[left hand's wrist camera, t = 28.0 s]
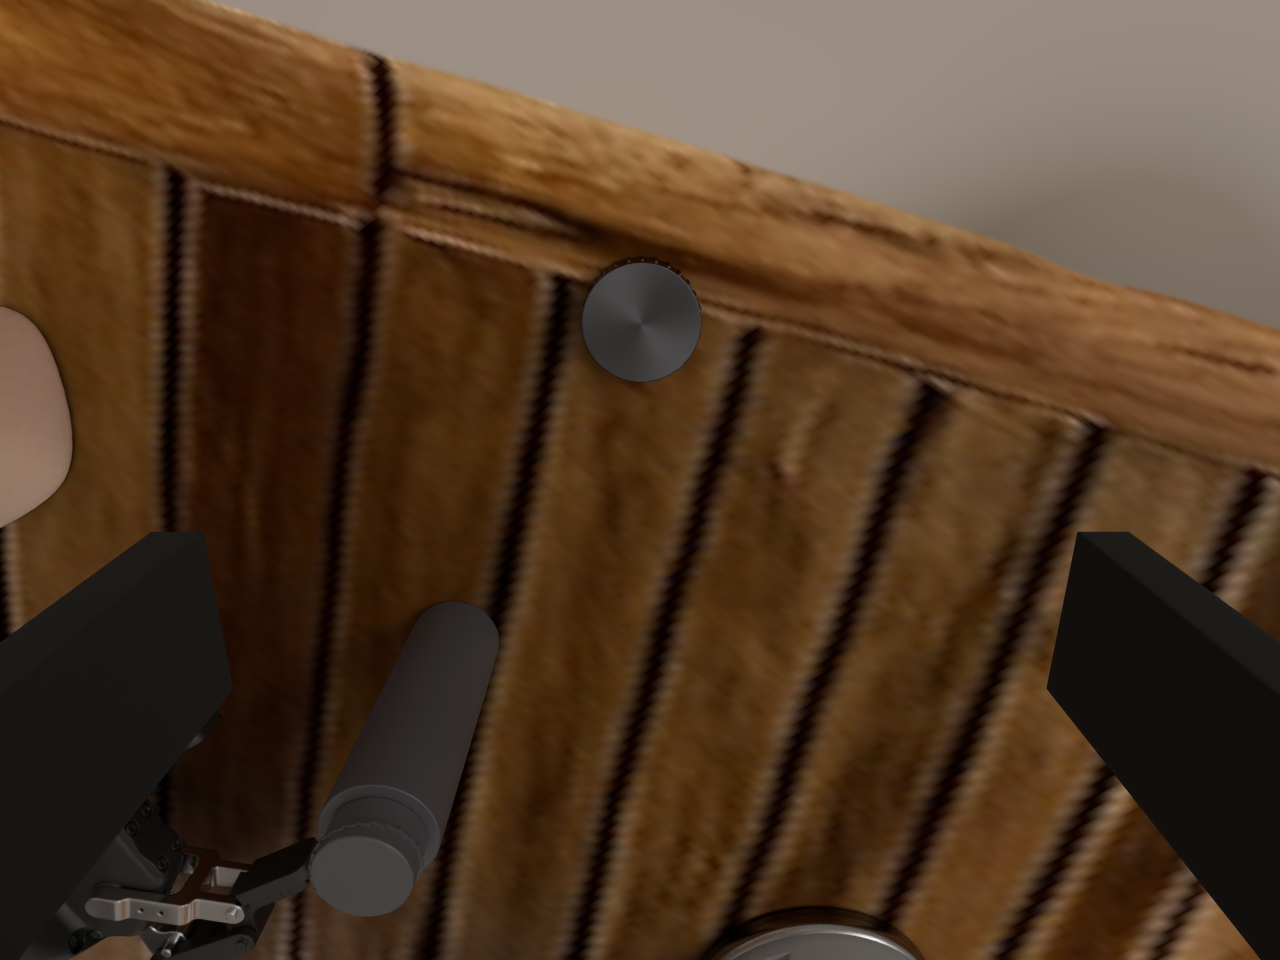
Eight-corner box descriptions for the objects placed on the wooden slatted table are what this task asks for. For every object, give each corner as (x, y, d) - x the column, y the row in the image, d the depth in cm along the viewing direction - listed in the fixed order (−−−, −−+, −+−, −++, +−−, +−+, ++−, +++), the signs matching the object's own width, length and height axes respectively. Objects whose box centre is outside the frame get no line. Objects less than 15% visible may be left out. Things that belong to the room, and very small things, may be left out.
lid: (639, 395, 39) (639, 408, 36) (559, 313, 37) (554, 322, 35) (723, 317, 37) (728, 325, 35) (643, 230, 36) (643, 233, 34)
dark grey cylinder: (471, 587, 42) (381, 807, 27) (515, 655, 43) (451, 900, 29) (396, 622, 43) (269, 855, 28) (441, 688, 44) (343, 943, 29)
